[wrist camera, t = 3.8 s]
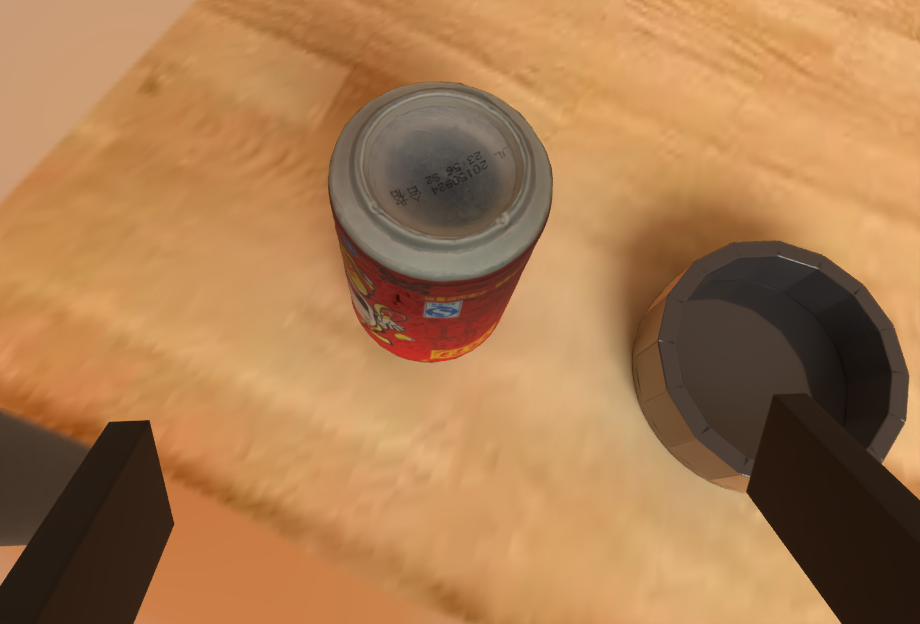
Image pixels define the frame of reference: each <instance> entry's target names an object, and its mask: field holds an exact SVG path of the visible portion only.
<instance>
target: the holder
mask: <svg viewBox="0 0 920 624" xmlns="http://www.w3.org/2000/svg"><path fill="white" fill-rule="evenodd" d="M893 326H894V325H893V324H892V322H891V321H890V320H889V318H888V317H887V316H886V314H885V313H884V311H883V310H882V309H881V307H880V306H879V305H878V303H877V302H876V301H875V299H874V298H873V296H872V295H871V294H870V292H869V291H868V290H867V288H866V287H865V286H863V284H862V283H861V282H859V281H858V280H857V279H855V278H854V277H852V276H851V275H850V274H848V273H847V272H846V271H844V270H843V269H841V268H840V267H839V266H837V265H836V264H835V263H833V262H832V261H831V260H829V259H828V258H826V257H825V256H823V255H821V254H818V253H815V252H812V251H809V250H806V249H802V248H799V247H796V246H793V245H790V244H787V243H784V242H781V241H756V242H734V243H730V244H728V245H726V246H724V247H722V248H720V249H718V250H716V251H714V252H712V253H710V254H708V255H706V256H704V257H702V258H700V259H697V260H695V261H694V262H693V263H691V264H690V265H689V266H688V267H687V268H686V269H685V270H684V271H683V272H682V273H681V274H679V275H678V276H677V277H676V278H675V279H674V280H673V281H672V282H671V283H670V284H669V285H668V286H667V287H666V288H665V290H664V291H663V292H662V293H661V294H660V296H659V297H658V298H657V299H656V300H655V301H654V302H653V303H652V305H651V306H650V308H649V309H648V310H647V312H646V313H645V315H644V317H643V319H642V321H641V324H640V326H639V328H638V332H637V335H636V338H635V343H634V349H633V377H634V384H635V389H636V393H637V397H638V400H639V403H640V405H641V408H642V411H643V413H644V415H645V417H646V419H647V421H648V423H649V425H650V427H651V428H652V430H653V431H654V433H655V434H656V436H657V437H658V439H659V440H660V441H661V443H662V444H663V445H664V446H665V447H666V448H667V450H668V451H669V452H670V453H671V454H672V455H673V456H674V457H675V458H676V459H677V460H678V461H680V462H681V463H682V464H683V465H684V466H686V467H687V468H688V469H690V470H691V471H692V472H694V473H695V474H697V475H698V476H700V477H702V478H704V479H706V480H707V481H709V482H711V483H714V484H716V485H719V486H721V487H723V488H726V489H730V490H734V491H737V492H741V493H747V492H746V490H747V486H748V483H749V479H750V476H751V472H752V468H753V465H754V461H755V458H756V454H757V451H758V447H759V444H760V440H761V436H762V433H763V429H764V426H765V422H766V419H767V415H768V412H769V408H770V405H771V401H772V397H773V394H795V393H807V394H808V395H809V396H810V397H811V398H812V399H813V400H814V401H815V402H816V403H817V404H818V405H819V406H820V407H822V408H823V409H824V410H825V411H826V412H827V413H828V414H829V415H830V416H831V417H832V418H833V419H834V420H835V421H836V422H837V423H838V424H840V425H841V426H842V427H843V428H844V429H845V430H846V431H847V432H848V433H849V434H850V435H851V436H852V437H853V438H854V439H855V440H856V441H858V442H859V443H860V444H861V445H862V446H863V447H864V448H865V449H866V450H867V451H868V452H869V453H870V454H871V455H872V456H873V457H874V458H875V459H877V460H878V461H879V462H880V463H882V461H884V459H885V457H886V456H887V454H888V452H889V450H890V449H891V447H892V445H893V443H894V442H895V440H896V438H897V436H898V435H899V433H900V431H901V429H902V428H903V426H904V424H905V422H906V415H907V401H908V387H909V372H908V369H907V366H906V363H905V359H904V356H903V353H902V350H901V347H900V344H899V340H898V337H897V334H896V331H895V328H894V327H893Z"/></svg>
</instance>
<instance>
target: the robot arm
mask: <svg viewBox="0 0 920 624" xmlns="http://www.w3.org/2000/svg"><path fill="white" fill-rule="evenodd" d="M746 492H747V494H748V495H749V496H750V498H751V499H752V501H753V502H754V503H755V505H756V506H757V507H758V509H759V510H760V512H761V513H762V514H763V516H764V517H765V519H766V520H767V521H768V523H769V524H770V525H771V527H772V528H773V530H774V531H775V532H776V534H777V535H778V536H779V538H780V539H781V541H782V542H783V543H784V545H785V546H786V548H787V549H788V550H789V552H790V553H791V554H792V556H793V557H794V559H795V560H796V561H797V563H798V564H799V565H800V567H801V568H802V570H803V571H804V572H805V574H806V575H807V577H808V578H809V579H810V581H811V582H812V583H813V585H814V586H815V588H816V589H817V590H818V592H819V593H820V594H821V596H822V597H823V599H824V600H825V601H826V603H827V604H828V606H829V607H830V608H831V610H832V611H833V612H834V614H835V615H836V617H837V618H838V619H839V621H840V622H841V623H842V624H920V500H919V499H918V498H917V497H916V496H915V495H914V494H913V493H911V492H910V491H909V490H908V489H907V488H906V487H905V486H904V485H903V484H902V483H901V482H900V481H899V480H898V479H897V478H896V477H895V476H893V475H892V474H891V473H890V472H889V471H888V470H887V469H886V468H885V467H884V466H883V465H882V464H881V463H880V462H879V461H878V460H877V459H875V458H874V457H873V456H872V455H871V454H870V453H869V452H868V451H867V450H866V449H865V448H864V447H863V446H862V445H861V444H860V443H859V442H858V441H856V440H855V439H854V438H853V437H852V436H851V435H850V434H849V433H848V432H847V431H846V430H845V429H844V428H843V427H842V426H841V425H840V424H838V423H837V422H836V421H835V420H834V419H833V418H832V417H831V416H830V415H829V414H828V413H827V412H826V411H825V410H824V409H823V408H822V407H820V406H819V405H818V404H817V403H816V402H815V401H814V400H813V399H812V398H811V397H810V396H809V395H808V394H807V393H795V394H773V397H772V401H771V405H770V408H769V412H768V415H767V419H766V422H765V426H764V429H763V433H762V436H761V440H760V444H759V447H758V451H757V454H756V458H755V461H754V465H753V468H752V472H751V476H750V479H749V483H748V486H747V490H746ZM173 526H174V521H173V517H172V513H171V509H170V505H169V501H168V496H167V492H166V488H165V483H164V479H163V475H162V471H161V467H160V462H159V458H158V454H157V450H156V446H155V441H154V437H153V433H152V429H151V425H150V421H149V420H145V421H120V422H109V423H108V424H107V426H106V427H105V429H104V430H103V432H102V433H101V435H100V436H99V438H98V439H97V441H96V442H95V444H94V446H93V447H92V449H91V450H90V452H89V453H88V455H87V456H86V458H85V459H84V461H83V462H82V464H81V465H80V467H79V468H78V470H77V471H76V473H75V474H74V476H73V477H72V479H71V480H70V482H69V483H68V485H67V486H66V488H65V489H64V491H63V492H62V494H61V495H60V497H59V498H58V500H57V501H56V503H55V504H54V506H53V507H52V509H51V510H50V512H49V513H48V515H47V516H46V518H45V519H44V521H43V522H42V524H41V525H40V527H39V528H38V530H37V531H36V533H35V534H34V536H33V537H32V539H31V540H30V542H29V543H28V545H27V547H26V548H25V550H24V551H23V553H22V554H21V556H20V557H19V559H18V560H17V562H16V563H15V565H14V566H13V568H12V569H11V571H10V572H9V574H8V575H7V577H6V578H5V580H4V581H3V583H2V584H1V586H0V624H133V623H134V621H135V619H136V616H137V614H138V611H139V609H140V606H141V604H142V601H143V599H144V597H145V594H146V592H147V589H148V587H149V584H150V582H151V580H152V577H153V575H154V572H155V570H156V567H157V565H158V562H159V560H160V557H161V555H162V553H163V550H164V548H165V545H166V543H167V540H168V538H169V536H170V533H171V531H172V528H173Z"/></svg>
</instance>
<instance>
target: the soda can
mask: <svg viewBox="0 0 920 624" xmlns="http://www.w3.org/2000/svg"><path fill="white" fill-rule="evenodd" d="M552 186H553V177H552V168H551V165H550V161H549V158H548V155H547V152H546V150H545V148H544V146H543V144H542V143H541V141H540V140H539V138H538V137H537V135H536V134H535V132H534V131H533V128H532V127H531V126H530V124H529V123H528V122H527V121H526V119H525V118H524V117H523V116H522V115H521V114H520V113H519V112H518V111H516V110H515V109H513V108H512V107H511V106H509V105H508V104H507V103H505V102H504V101H502V100H501V99H499V98H497V97H496V96H494V95H492V94H490V93H488V92H485V91H482V90H479V89H477V88H474V87H470V86H467V85H464V84H462V83H453V82H420V83H415V84H411V85H406V86H401V87H397V88H395V89H392V90H389V91H387V92H386V93H384V94H382V95H380V96H378V97H376V98H375V99H373V100H371V101H369V102H367V103H366V104H365V105H364V106H363V107H362V108H361V109H360V110H359V111H358V112H357V113H356V114H355V115H354V116H353V117H352V118H351V119H350V120H349V121H348V123H347V124H346V125H345V126H344V128H343V130H342V132H341V134H340V136H339V138H338V140H337V142H336V145H335V148H334V151H333V154H332V157H331V161H330V165H329V176H328V190H329V198H330V204H331V208H332V212H333V218H334V221H335V228H336V232H337V235H338V239H339V243H340V249H341V253H342V258H343V262H344V267H345V272H346V276H347V280H348V285H349V289H350V294H351V299H352V304H353V308H354V310H355V313H356V315H357V317H358V319H359V321H360V323H361V325H362V326H363V327H364V329H365V330H366V331H367V333H368V334H369V335H370V336H371V337H372V338H373V339H374V340H375V341H376V342H377V343H378V344H379V345H380V346H382V347H383V348H385V349H387V350H388V351H390V352H392V353H393V354H395V355H396V356H399V357H402V358H405V359H408V360H413V361H418V362H429V363H432V362H439V361H446V360H451V359H456V358H458V357H460V356H462V355H464V354H466V353H468V352H470V351H472V350H474V349H475V348H476V347H478V346H479V345H480V344H482V343H483V342H484V341H485V340H486V339H487V338H488V337H489V336H490V335H491V333H492V332H493V331H494V329H495V328H496V326H497V324H498V323H499V321H500V318H501V316H502V314H503V312H504V310H505V308H506V306H507V304H508V302H509V300H510V298H511V296H512V294H513V291H514V289H515V287H516V285H517V283H518V281H519V279H520V276H521V274H522V272H523V270H524V268H525V266H526V264H527V262H528V260H529V258H530V256H531V254H532V251H533V249H534V247H535V245H536V243H537V241H538V239H539V238H540V236H541V234H542V232H543V230H544V228H545V225H546V223H547V220H548V217H549V213H550V209H551V203H552Z"/></svg>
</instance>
